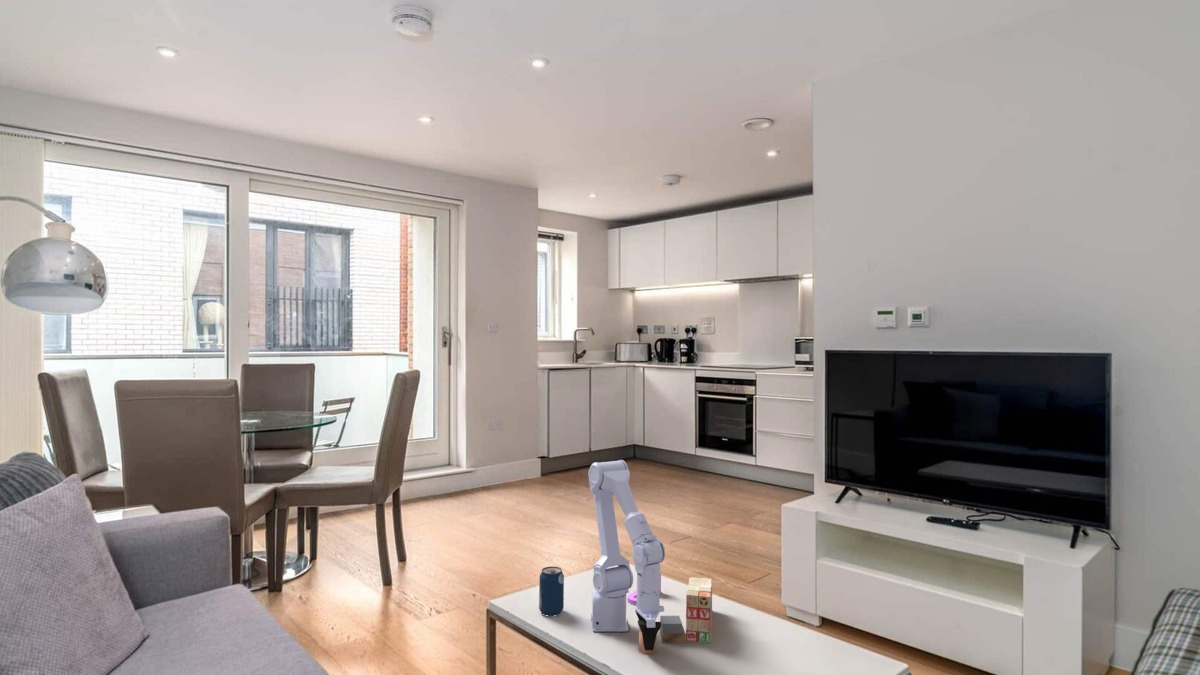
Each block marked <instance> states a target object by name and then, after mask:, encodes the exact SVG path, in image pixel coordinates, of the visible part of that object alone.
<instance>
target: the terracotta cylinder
mask: <svg viewBox="0 0 1200 675" xmlns="http://www.w3.org/2000/svg"><path fill="white" fill-rule="evenodd" d="M657 636H658V635H657ZM657 636H656V640H655V645H654V649H653V650H645V649H644V644H643V637H642V632H641V630H639V631H638V651H639V653H641V654H643V655H647V656H648V655H654V654H655V653H657V643H658V642H657V640H658V639H657Z"/></svg>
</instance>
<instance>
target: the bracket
mask: <svg viewBox="0 0 1200 675" xmlns="http://www.w3.org/2000/svg"><path fill="white" fill-rule="evenodd" d="M661 576H662V574H661V572H660V594H661V592H662V590H661V589H662V577H661ZM626 603H628V604H629V603H630V605H632V604H634V606H636V605H637V589H635V590H634V591H632V592H631V593H630V594H628V595H626Z"/></svg>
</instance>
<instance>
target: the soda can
mask: <svg viewBox="0 0 1200 675" xmlns="http://www.w3.org/2000/svg"><path fill="white" fill-rule="evenodd" d="M564 582H565V575H564V573H563V570H562V568H561V567H559V566H546V567H544V568H543V567H542V569H541V572H540V574H539V585H538V586H539V592H538V594H539V595H538V597H539V598H538V608H539V609H538V610H539V612H540V614H542V615H543V614H544V615H543V616H545V615H548V616H547V617H555V616H554V615H557V616H559V615H560V613H561V614H562V613H563V610H564V607H565V603H564V600H565V596H564V595H565V593H564V591H565V583H564ZM558 614H559V615H558Z"/></svg>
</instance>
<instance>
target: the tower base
mask: <svg viewBox="0 0 1200 675" xmlns="http://www.w3.org/2000/svg"><path fill="white" fill-rule="evenodd" d="M659 635H660V639H661V643H662V644H663V643H664V644H665V643H666V644H671V643H672V644H674V643H675V644H676V643H677V644H681V643H682V644H684V643H687V641H686V630H685V628H684V625H683V624H682V634H663V633H662V629H661V628H660V629H659Z"/></svg>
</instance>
